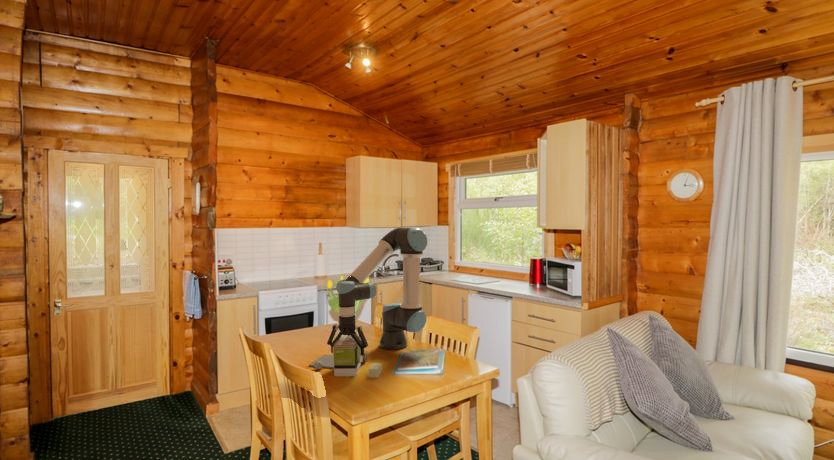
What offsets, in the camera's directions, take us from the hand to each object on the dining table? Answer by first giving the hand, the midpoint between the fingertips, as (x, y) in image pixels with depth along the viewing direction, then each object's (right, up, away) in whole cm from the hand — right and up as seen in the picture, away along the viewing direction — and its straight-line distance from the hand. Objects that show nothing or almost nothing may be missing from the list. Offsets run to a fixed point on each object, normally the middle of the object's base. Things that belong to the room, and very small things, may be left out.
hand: (347, 361), depth 214 cm
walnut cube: (+5, -4, +12) cm, 14 cm away
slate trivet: (-11, -4, +12) cm, 17 cm away
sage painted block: (+13, -5, -5) cm, 15 cm away
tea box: (0, -5, 0) cm, 5 cm away
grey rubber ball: (-14, -3, +2) cm, 14 cm away
